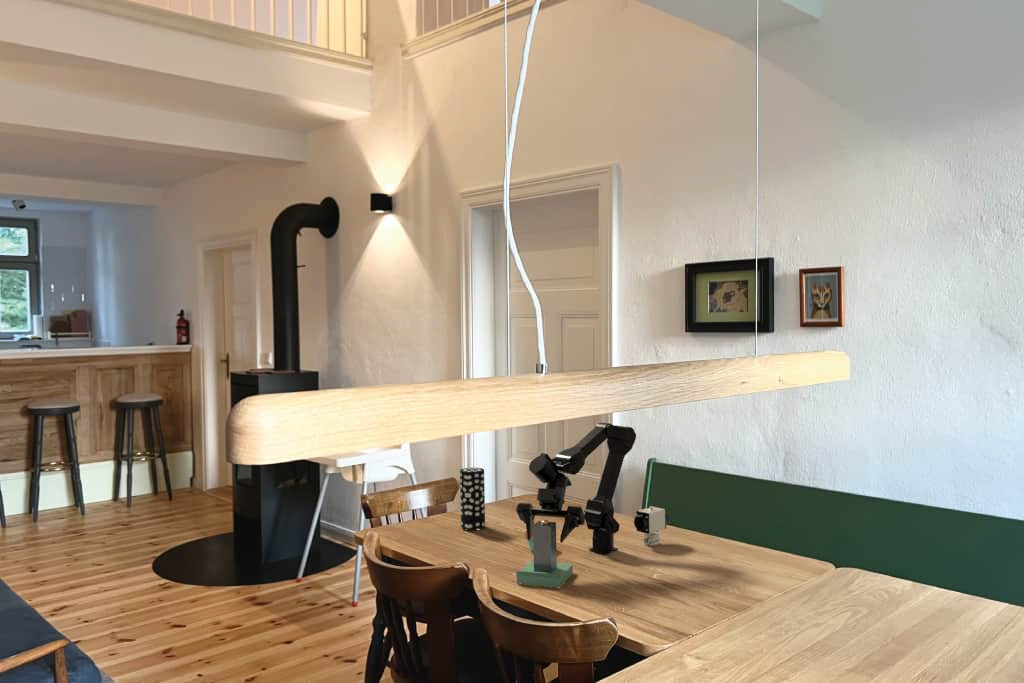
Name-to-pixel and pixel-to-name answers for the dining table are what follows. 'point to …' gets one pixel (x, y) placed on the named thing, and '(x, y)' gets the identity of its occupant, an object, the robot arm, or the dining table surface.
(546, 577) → the coupler stand
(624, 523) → the dining table surface
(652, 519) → the white security camera
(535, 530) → the block
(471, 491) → the white-spotted black cylinder
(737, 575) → the dining table surface
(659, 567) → the dining table surface
